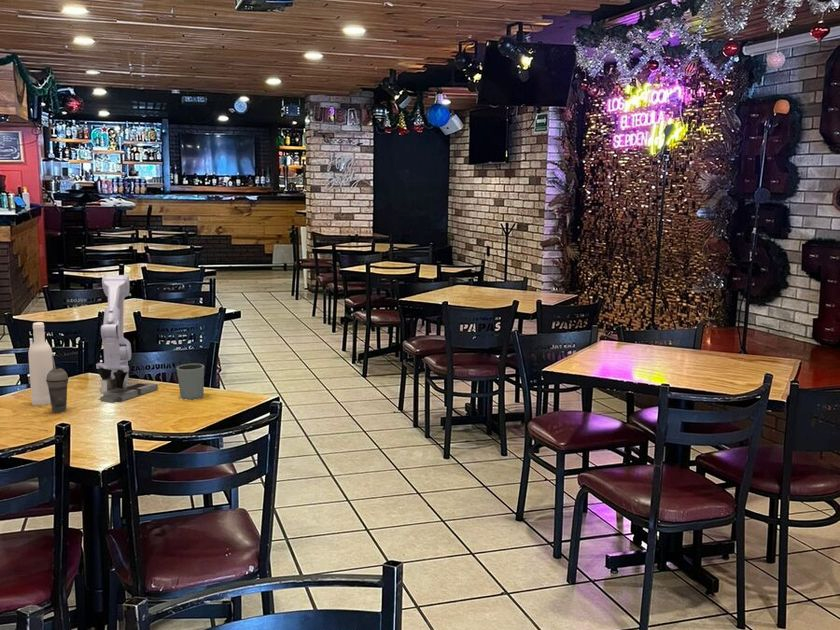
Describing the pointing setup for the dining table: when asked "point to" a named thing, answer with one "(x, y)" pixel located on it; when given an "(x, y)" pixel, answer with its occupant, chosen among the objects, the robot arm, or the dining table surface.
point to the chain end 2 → (140, 387)
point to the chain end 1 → (118, 395)
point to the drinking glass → (191, 381)
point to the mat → (135, 397)
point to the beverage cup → (57, 388)
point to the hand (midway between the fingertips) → (113, 388)
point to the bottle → (39, 366)
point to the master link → (109, 384)
